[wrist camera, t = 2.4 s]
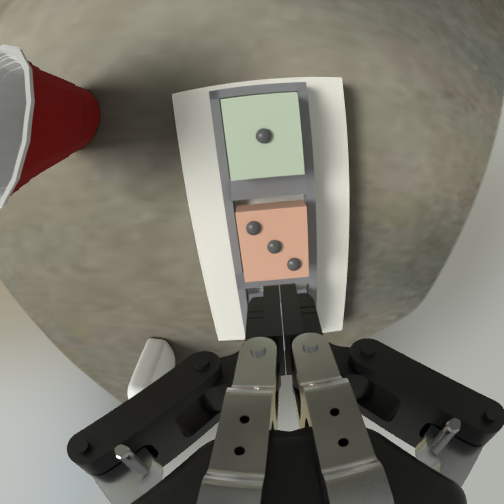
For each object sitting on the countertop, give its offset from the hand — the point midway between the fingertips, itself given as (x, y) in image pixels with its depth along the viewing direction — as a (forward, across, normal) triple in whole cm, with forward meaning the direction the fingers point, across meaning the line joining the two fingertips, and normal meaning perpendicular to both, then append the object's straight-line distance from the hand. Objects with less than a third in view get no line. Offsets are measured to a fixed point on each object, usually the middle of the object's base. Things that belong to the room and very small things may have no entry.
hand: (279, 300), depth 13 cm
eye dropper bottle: (+11, +14, +15) cm, 23 cm away
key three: (+7, 0, 0) cm, 7 cm away
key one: (+7, 0, -7) cm, 10 cm away
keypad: (+11, 0, 0) cm, 11 cm away
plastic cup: (+11, +16, -12) cm, 23 cm away
